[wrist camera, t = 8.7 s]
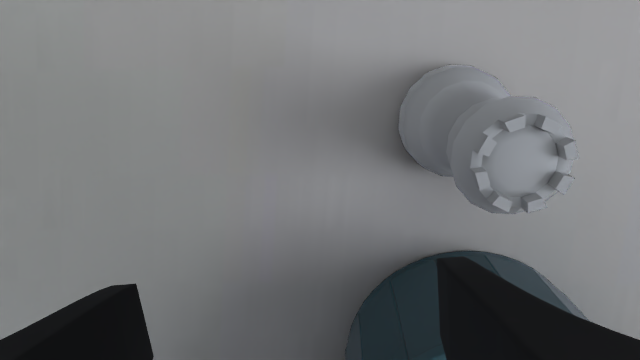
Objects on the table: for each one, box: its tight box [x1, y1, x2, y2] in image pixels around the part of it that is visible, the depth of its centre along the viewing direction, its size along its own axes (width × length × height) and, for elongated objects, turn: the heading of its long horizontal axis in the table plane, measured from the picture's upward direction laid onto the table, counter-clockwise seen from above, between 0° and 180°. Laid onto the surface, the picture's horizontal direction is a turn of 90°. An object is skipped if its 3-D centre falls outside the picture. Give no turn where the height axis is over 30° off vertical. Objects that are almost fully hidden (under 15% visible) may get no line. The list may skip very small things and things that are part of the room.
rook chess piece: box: [398, 65, 579, 214], centre depth 15 cm, size 4×4×8 cm
